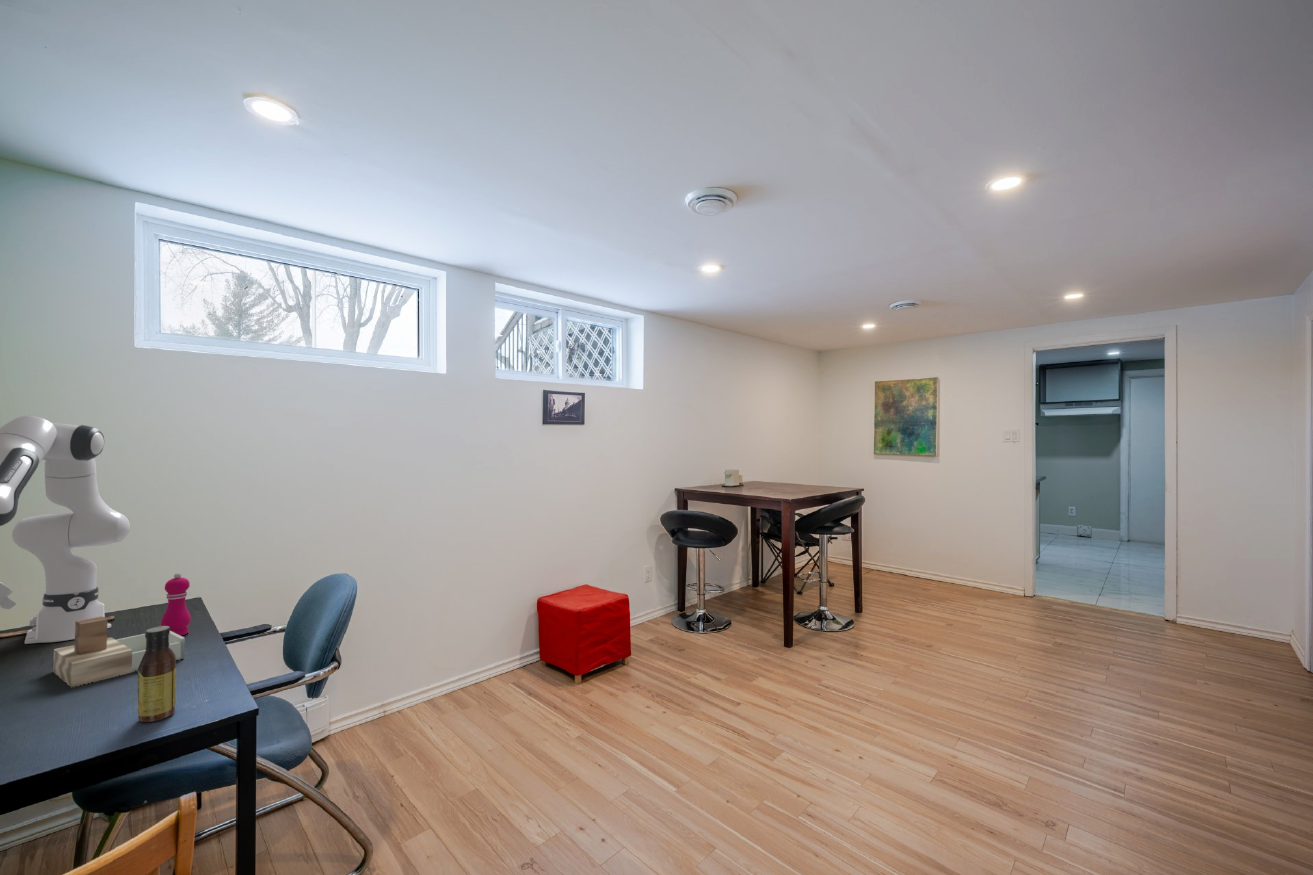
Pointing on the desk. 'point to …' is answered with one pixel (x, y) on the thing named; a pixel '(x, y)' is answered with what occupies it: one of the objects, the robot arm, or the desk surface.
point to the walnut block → (90, 635)
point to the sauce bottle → (157, 677)
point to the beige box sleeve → (92, 663)
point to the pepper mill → (177, 605)
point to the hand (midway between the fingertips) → (10, 606)
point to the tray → (139, 647)
